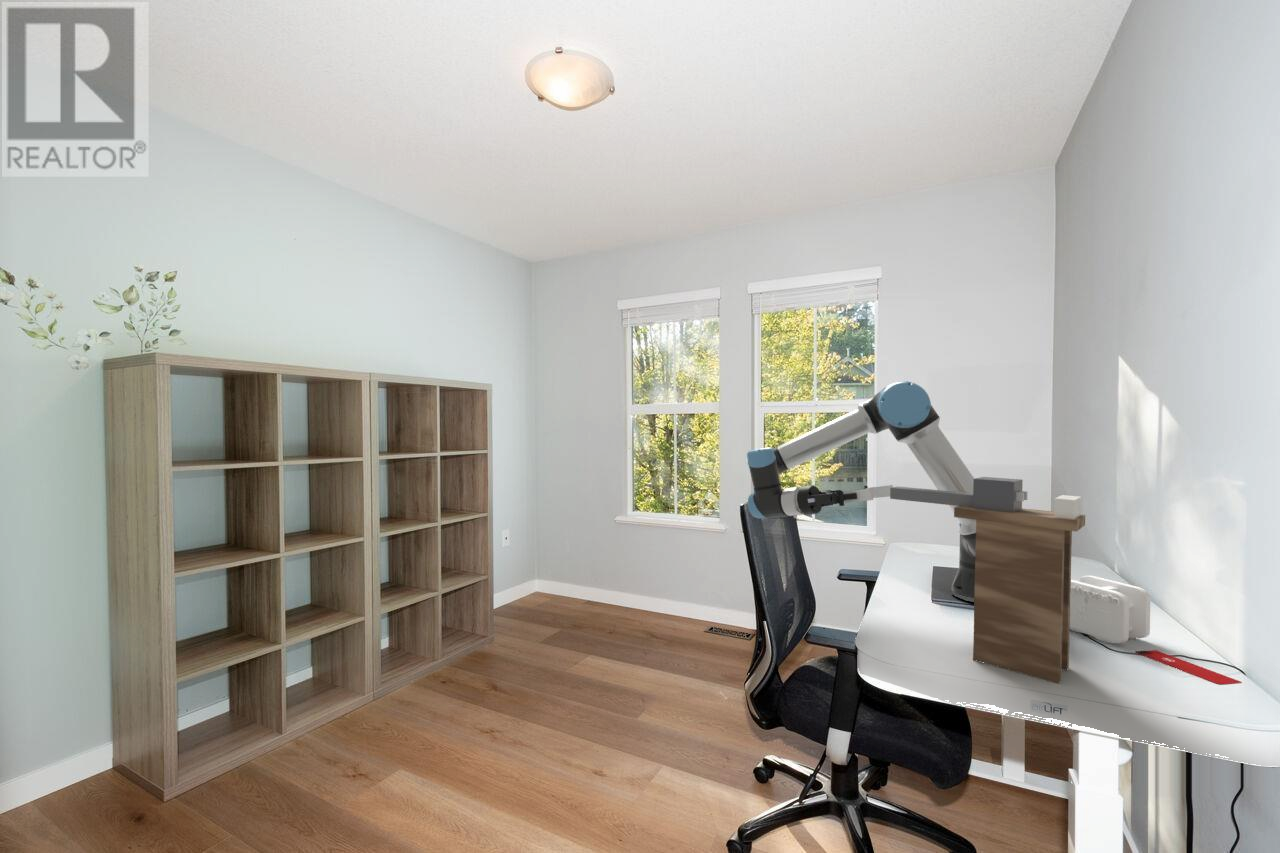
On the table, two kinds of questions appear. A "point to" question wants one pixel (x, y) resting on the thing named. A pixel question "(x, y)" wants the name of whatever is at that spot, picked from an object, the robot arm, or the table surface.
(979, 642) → the shelf
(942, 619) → the table surface
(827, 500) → the robot arm
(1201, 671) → the electronic device
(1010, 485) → the grey t-shaped block
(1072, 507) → the white rectangular block
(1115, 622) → the cable organizer
